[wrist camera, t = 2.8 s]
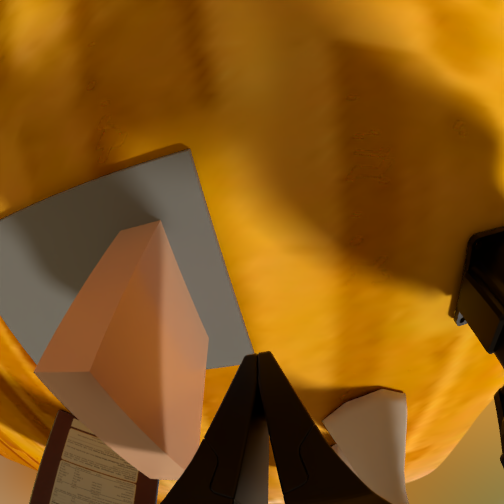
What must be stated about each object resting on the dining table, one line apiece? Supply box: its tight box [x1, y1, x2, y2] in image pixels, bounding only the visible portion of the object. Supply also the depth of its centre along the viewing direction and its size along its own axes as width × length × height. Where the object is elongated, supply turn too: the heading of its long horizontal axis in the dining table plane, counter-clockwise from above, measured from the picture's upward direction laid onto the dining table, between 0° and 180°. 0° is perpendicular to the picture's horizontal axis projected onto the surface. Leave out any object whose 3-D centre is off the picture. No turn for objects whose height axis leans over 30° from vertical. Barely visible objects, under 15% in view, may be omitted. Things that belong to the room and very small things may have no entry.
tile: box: [34, 220, 209, 480], centre depth 11 cm, size 2×7×8 cm, turn 13°
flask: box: [322, 389, 409, 504], centre depth 18 cm, size 7×7×10 cm
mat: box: [0, 149, 255, 369], centre depth 15 cm, size 16×12×1 cm
